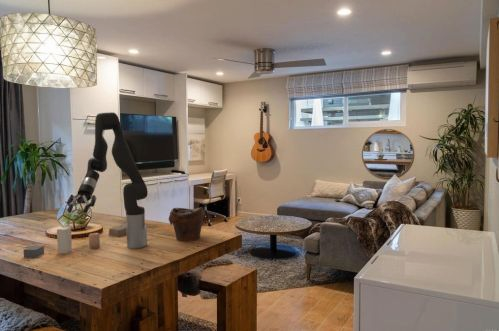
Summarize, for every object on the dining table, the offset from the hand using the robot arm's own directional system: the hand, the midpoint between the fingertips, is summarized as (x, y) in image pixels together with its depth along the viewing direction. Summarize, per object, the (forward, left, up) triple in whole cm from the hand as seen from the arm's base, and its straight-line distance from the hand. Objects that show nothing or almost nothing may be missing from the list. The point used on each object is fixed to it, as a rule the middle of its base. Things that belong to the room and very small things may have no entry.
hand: (76, 212), depth 186 cm
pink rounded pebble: (-11, +4, -17) cm, 21 cm away
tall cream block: (0, +12, -17) cm, 21 cm away
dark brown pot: (-55, -15, -18) cm, 60 cm away
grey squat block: (+12, +18, -18) cm, 28 cm away
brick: (-14, -25, -18) cm, 34 cm away
